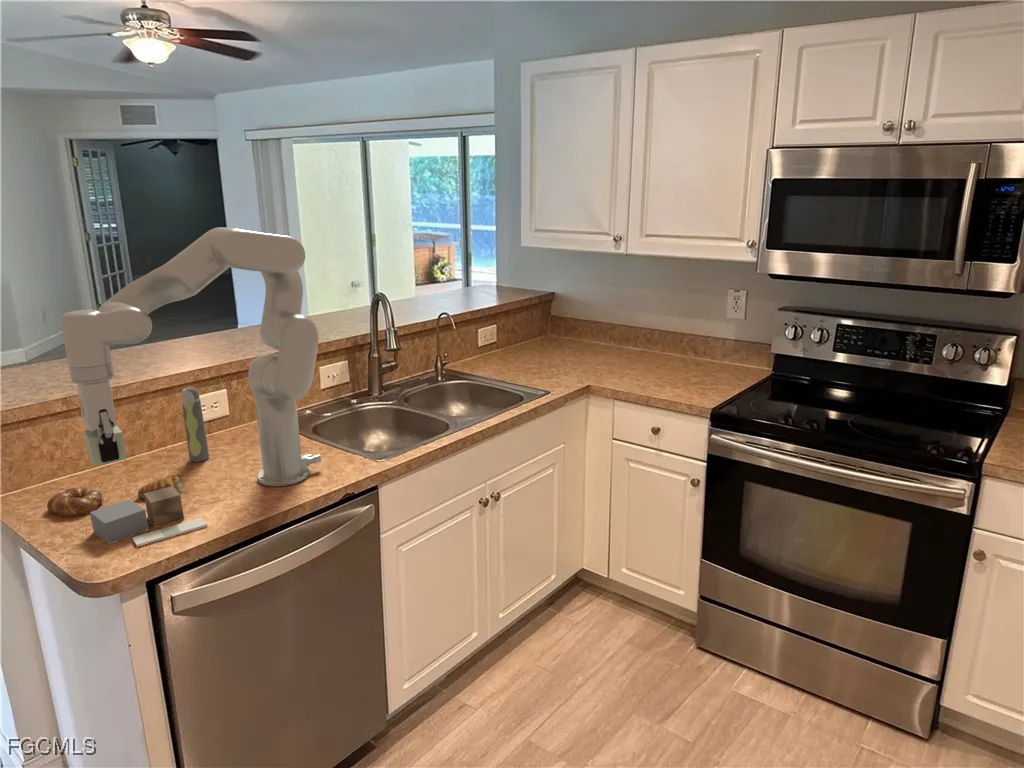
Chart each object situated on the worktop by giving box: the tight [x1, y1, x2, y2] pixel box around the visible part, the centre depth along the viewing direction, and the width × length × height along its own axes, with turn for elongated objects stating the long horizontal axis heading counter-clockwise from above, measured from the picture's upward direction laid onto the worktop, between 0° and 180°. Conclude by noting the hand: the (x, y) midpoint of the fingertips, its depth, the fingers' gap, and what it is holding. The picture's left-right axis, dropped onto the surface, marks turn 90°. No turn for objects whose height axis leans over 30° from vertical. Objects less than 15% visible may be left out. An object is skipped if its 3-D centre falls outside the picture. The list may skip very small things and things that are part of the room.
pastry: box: [137, 475, 182, 500], centre depth 169 cm, size 9×7×4 cm
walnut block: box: [144, 486, 185, 528], centre depth 156 cm, size 6×6×6 cm
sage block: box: [83, 424, 128, 467], centre depth 146 cm, size 6×6×6 cm
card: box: [131, 517, 209, 547], centre depth 150 cm, size 14×4×1 cm, turn 129°
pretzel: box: [46, 487, 103, 518], centre depth 162 cm, size 12×11×4 cm
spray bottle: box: [180, 386, 210, 463], centre depth 187 cm, size 5×5×20 cm
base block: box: [89, 499, 149, 544], centre depth 151 cm, size 8×8×5 cm
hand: (107, 454), depth 147 cm, fingers closed on sage block, 6 cm apart
